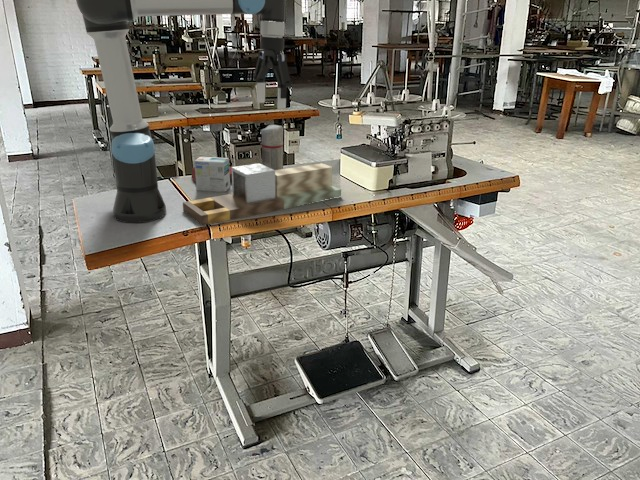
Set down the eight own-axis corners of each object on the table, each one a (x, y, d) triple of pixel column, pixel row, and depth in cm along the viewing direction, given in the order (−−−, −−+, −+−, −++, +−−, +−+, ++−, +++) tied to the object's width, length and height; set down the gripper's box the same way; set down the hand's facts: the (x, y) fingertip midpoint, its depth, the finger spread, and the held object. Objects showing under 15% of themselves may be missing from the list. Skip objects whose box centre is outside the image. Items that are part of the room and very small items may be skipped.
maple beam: (277, 196, 168) (277, 175, 165) (267, 191, 172) (267, 171, 170) (331, 186, 180) (332, 167, 177) (321, 182, 184) (322, 163, 182)
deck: (201, 225, 151) (201, 215, 150) (183, 211, 161) (182, 202, 160) (340, 197, 179) (341, 189, 178) (317, 187, 189) (317, 179, 188)
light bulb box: (230, 186, 186) (229, 157, 182) (225, 192, 180) (224, 162, 176) (201, 185, 187) (199, 155, 183) (195, 190, 181) (193, 160, 177)
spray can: (282, 181, 194) (283, 128, 186) (260, 180, 194) (260, 127, 187) (284, 175, 202) (285, 123, 194) (263, 174, 202) (263, 123, 194)
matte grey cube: (247, 204, 160) (246, 174, 156) (232, 195, 167) (231, 167, 164) (275, 199, 165) (275, 170, 162) (259, 191, 173) (259, 163, 169)
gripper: (304, 39, 156) (300, 111, 164) (263, 35, 174) (262, 99, 183) (282, 38, 152) (280, 112, 160) (243, 34, 170) (243, 100, 178)
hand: (270, 105), depth 171 cm, fingers open, 13 cm apart
